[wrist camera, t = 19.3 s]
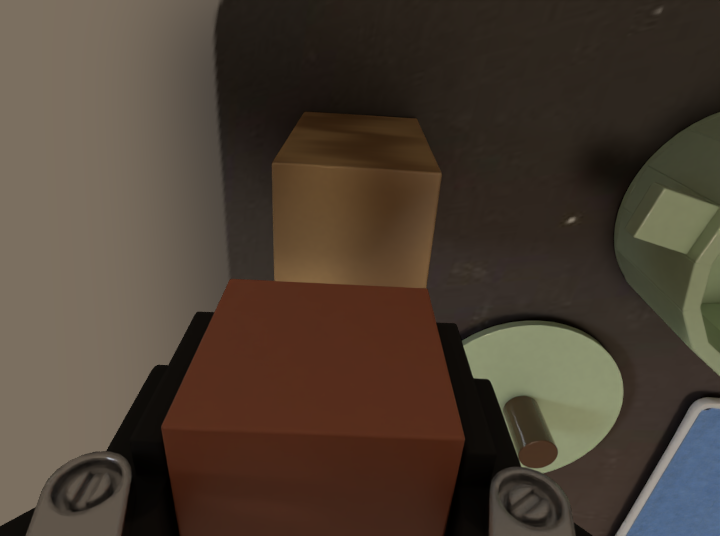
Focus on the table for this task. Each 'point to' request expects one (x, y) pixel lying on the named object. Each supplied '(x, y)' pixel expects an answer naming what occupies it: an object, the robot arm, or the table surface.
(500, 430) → the robot arm
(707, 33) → the table surface
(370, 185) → the block
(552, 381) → the lid
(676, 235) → the light green round pot
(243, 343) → the block
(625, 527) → the tablet
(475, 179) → the table surface
